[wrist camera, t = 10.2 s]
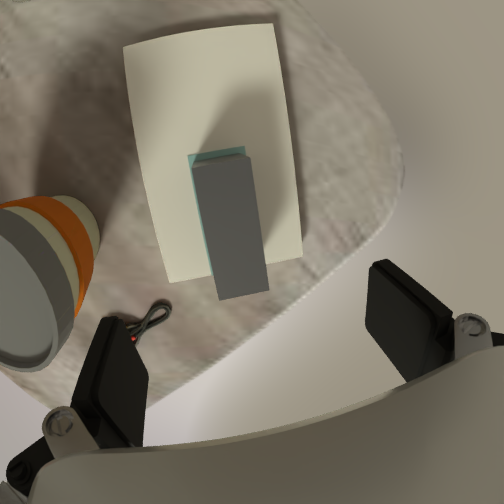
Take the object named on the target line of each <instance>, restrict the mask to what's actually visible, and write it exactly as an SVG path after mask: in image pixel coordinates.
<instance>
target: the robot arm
mask: <svg viewBox="0 0 504 504" xmlns="http://www.w3.org/2000/svg"><path fill="white" fill-rule="evenodd" d="M12 1H14V2H25V1H30V0H12ZM452 314H453V312H452V311H451V310H450V309H449V308H448V307H446V306H445V305H444V304H443V303H441V301H439V300H438V299H437V298H436V297H435V296H434V295H432V294H431V293H430V292H429V291H428V290H426V289H425V288H424V287H423V286H421V285H420V284H419V283H418V282H416V281H415V280H414V279H413V278H412V277H410V276H409V275H408V274H407V273H405V272H404V271H403V270H401V269H400V268H399V267H398V266H396V265H395V264H394V263H392V262H391V261H390V260H388V259H383V260H380V261H376V262H374V263H373V264H372V266H371V267H370V268H369V278H368V293H367V306H366V317H365V326H366V329H367V330H368V332H369V333H370V335H371V336H372V337H373V338H374V339H375V341H376V342H377V343H378V345H379V346H380V348H381V349H382V350H383V351H384V353H385V354H386V355H387V357H388V358H389V359H390V361H391V362H392V363H393V364H394V366H395V367H396V369H397V370H398V371H399V373H400V374H401V375H402V377H403V378H404V379H405V381H406V382H407V383H405V384H403V385H401V386H398V387H396V388H394V389H392V390H389V391H387V392H384V393H382V394H379V395H377V396H375V397H372V398H369V399H367V400H364V401H361V402H359V403H356V404H353V405H350V406H347V407H345V408H342V409H339V410H336V411H333V412H330V413H326V414H323V415H320V416H317V417H313V418H310V419H307V420H303V421H299V422H296V423H292V424H289V425H284V426H280V427H277V428H272V429H268V430H263V431H258V432H254V433H249V434H244V435H238V436H233V437H227V438H222V439H215V440H208V441H201V442H193V443H184V444H174V445H163V446H150V447H143V432H144V420H145V409H146V399H147V390H148V381H149V376H148V372H147V369H146V367H145V365H144V363H143V361H142V359H141V357H140V355H139V353H138V351H137V349H136V347H135V345H134V343H133V341H132V339H131V336H130V334H129V332H128V330H127V328H126V325H125V323H124V321H123V320H122V319H118V317H117V316H112V317H105V318H102V319H101V320H100V323H99V325H98V328H97V330H96V333H95V335H94V338H93V340H92V343H91V345H90V348H89V350H88V353H87V356H86V358H85V361H84V364H83V367H82V369H81V372H80V375H79V378H78V381H77V384H76V387H75V390H74V393H73V396H72V399H71V400H72V402H71V405H70V407H68V406H61V407H57V408H55V409H53V410H51V411H50V412H49V413H48V414H47V415H46V417H45V418H44V421H43V423H42V431H43V434H44V436H43V437H42V438H40V439H39V440H38V441H36V442H35V443H34V444H32V445H31V446H30V447H28V448H27V449H25V450H24V451H23V452H21V453H20V454H18V455H17V456H16V457H14V458H13V459H12V460H11V461H10V462H9V464H8V466H7V470H6V477H7V482H4V481H2V482H1V484H0V504H504V334H502V333H495V332H491V331H490V327H489V324H488V322H487V321H486V320H485V319H483V318H482V317H481V316H478V315H476V314H472V313H465V314H462V315H459V316H458V317H457V318H456V319H455V320H454V319H453V318H452Z"/></svg>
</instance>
